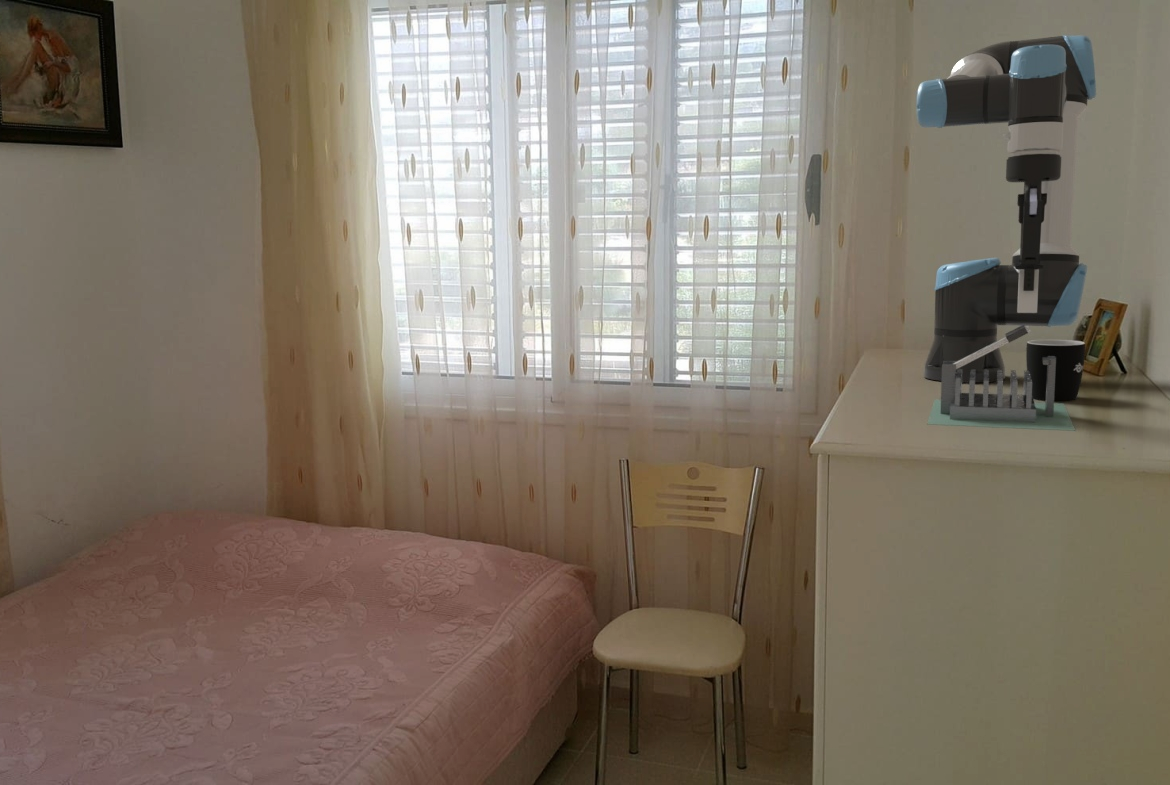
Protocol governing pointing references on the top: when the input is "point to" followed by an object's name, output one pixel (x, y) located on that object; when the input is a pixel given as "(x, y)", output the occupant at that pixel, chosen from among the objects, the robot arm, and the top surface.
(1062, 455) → the top surface
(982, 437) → the top surface
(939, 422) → the board
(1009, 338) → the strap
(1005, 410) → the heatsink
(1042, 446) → the top surface
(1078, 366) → the mug
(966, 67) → the robot arm
